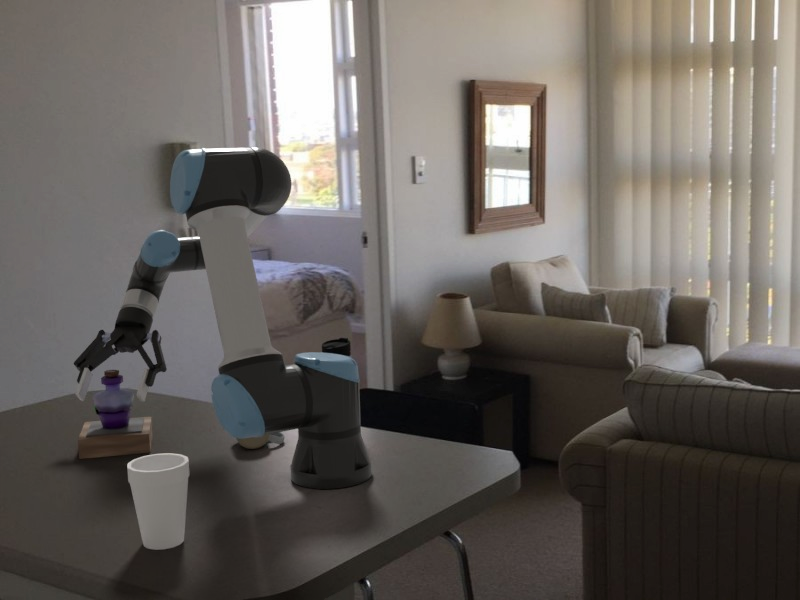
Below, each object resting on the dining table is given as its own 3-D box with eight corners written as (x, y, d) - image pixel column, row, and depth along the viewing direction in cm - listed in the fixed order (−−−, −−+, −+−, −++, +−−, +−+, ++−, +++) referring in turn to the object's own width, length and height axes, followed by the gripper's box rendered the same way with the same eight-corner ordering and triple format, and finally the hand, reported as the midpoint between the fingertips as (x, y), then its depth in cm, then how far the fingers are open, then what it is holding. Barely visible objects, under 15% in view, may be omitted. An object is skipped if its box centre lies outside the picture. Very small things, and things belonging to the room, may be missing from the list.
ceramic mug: (236, 452, 203) (235, 416, 202) (231, 442, 211) (229, 406, 210) (288, 447, 206) (287, 411, 205) (280, 437, 214) (279, 402, 213)
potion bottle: (93, 423, 213) (88, 368, 211) (134, 418, 215) (130, 364, 214) (95, 433, 205) (91, 376, 203) (138, 428, 207) (134, 372, 206)
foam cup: (198, 529, 162) (193, 452, 160) (188, 552, 153) (183, 470, 151) (139, 532, 162) (134, 454, 160) (126, 554, 153) (120, 473, 151)
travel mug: (360, 428, 218) (357, 338, 215) (343, 436, 212) (339, 344, 209) (337, 425, 221) (333, 336, 218) (319, 432, 216) (315, 341, 213)
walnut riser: (150, 452, 205) (148, 432, 204) (79, 458, 202) (77, 438, 202) (152, 434, 219) (151, 415, 218) (86, 439, 216) (84, 420, 215)
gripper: (195, 324, 220) (172, 408, 208) (91, 324, 225) (62, 406, 213) (184, 304, 214) (159, 389, 202) (77, 304, 219) (47, 387, 207)
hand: (109, 398), depth 207 cm, fingers open, 13 cm apart
